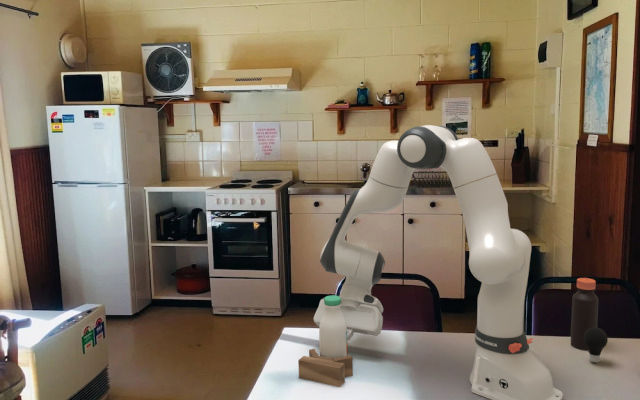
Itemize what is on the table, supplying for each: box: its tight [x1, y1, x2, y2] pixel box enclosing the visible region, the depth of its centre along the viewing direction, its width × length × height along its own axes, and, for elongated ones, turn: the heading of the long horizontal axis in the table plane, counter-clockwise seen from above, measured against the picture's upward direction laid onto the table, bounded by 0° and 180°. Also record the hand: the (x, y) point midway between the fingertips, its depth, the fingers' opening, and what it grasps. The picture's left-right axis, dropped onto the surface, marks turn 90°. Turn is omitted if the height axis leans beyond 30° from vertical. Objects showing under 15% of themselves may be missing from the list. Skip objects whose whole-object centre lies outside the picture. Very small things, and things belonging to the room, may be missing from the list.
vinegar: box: [570, 277, 599, 351], centre depth 158 cm, size 7×7×20 cm
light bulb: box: [584, 326, 609, 364], centre depth 148 cm, size 6×6×10 cm
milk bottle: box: [318, 294, 349, 359], centre depth 148 cm, size 8×8×20 cm
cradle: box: [298, 348, 354, 387], centre depth 145 cm, size 8×13×5 cm, turn 63°
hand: (340, 344), depth 153 cm, fingers closed, pressing on milk bottle
